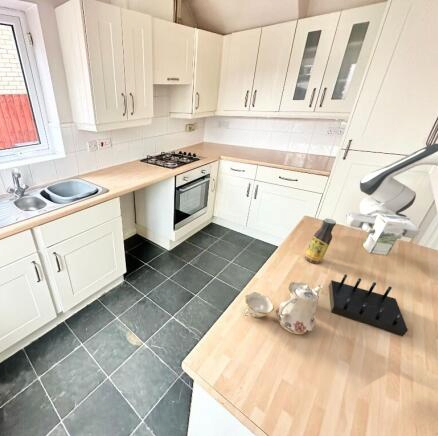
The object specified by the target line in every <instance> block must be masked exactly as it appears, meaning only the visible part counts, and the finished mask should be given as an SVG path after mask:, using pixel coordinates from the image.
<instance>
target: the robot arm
mask: <svg viewBox="0 0 438 436" xmlns="http://www.w3.org/2000/svg"><path fill="white" fill-rule="evenodd" d="M424 165H428V166H429V165H430V166H438V143H433V144H430V145H427V146H425V147H422V148H420V149H418V150H416V151H414V152H412V153H410V154H408V155H405V156H404V157H402V158H400V159H398V160H396V161H394V162H391V163H390V164H388V165H385V166H384V167H382V168H379V169H377V170H374V171H372V172H370V173H368V174H367V175H364V176H363V178H362V179H361V180H360V182H359V189H360V192H361V193H363V194H366V195H367V196H366V197H364V198H363V199H361V201H360V203H359V207H358V210H359V212H354V211H353V212H350V213H346V214H345V217H346V218H347V221H346V224H347V226H349V227H351V228H356V229H362V230H364V231H365V232H366V233H368V234H369V233H372V234H373V232H374V228H372V226H373V224H374V222H375V220H376V218H377V216H378V214H385V215H396V216H399V217H400V218H402V219H403V220H404V221H405V222H406V225H405V227H404V229H403V230H402V232H401V234H400V235H399V237H398V239H397V240H402V238H408V239H415V238H417V237H418V235H419V234H420V231H421V230H420V228H419V227H418V225H417V224H416V223H415V222H414V221H413V220H411V217H410V216H409V215H406V214H402V212H404V211H406V210H407V209H409V208H410V207H411V206H413V204H414V203H415V200H416V197H417V193H416V191H414V190H413V189H412V188H410V187H409V186H408V185H406V184H404V183H402V182H400V181H399V180H398V179H396V178H394V177H396V176H398V175H400V174H401V175H402V174H403V173H404V172H405V173H406V172H407V171H409V170H411V169H414V168H415V167H419V166H424Z"/></svg>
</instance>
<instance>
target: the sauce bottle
mask: <svg viewBox="0 0 438 436" xmlns="http://www.w3.org/2000/svg"><path fill="white" fill-rule="evenodd" d="M336 224H337V221H336V220H334V219H332V218H324V219H323V221H322V224H321V227H320V228H319V229H318V230H317V231H316V232H315V233H314V234H313V236H312V238H311V240H310V242H309V245H308V247H307V249H306V252H305V256H304V258H305V260H306V261H307V262H309V263H312V264H320V263H321V262H322V261H323V259H324V258H325V255H326V253H327V251H328V249H329V247H330V245H331V242H332V240H333V233H332V232H333V229H334V227H335V226H336Z"/></svg>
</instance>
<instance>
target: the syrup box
mask: <svg viewBox="0 0 438 436" xmlns="http://www.w3.org/2000/svg"><path fill="white" fill-rule="evenodd" d="M405 225H406V222H405V221H404V220H403V219H402V218H400V217H399V216H396V215H385V214H378V216H377V218H376V220H375V222H374V224H373V226H372V228H374V232H373V234H372V233H368V234H367V236H366V238H365V240H364V241H363V243H362V246H363V247H364V249H365V250H366V251H367V252H368V253H369V254H371V255H378V256H386V257H387V256H389V254H390V253H391V251H392V249H393V248H394V246H395V244H396V242H397V240H399V239H398V237H399V235H400V234H401V232H402V230H403V229H404V227H405Z"/></svg>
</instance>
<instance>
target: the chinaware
mask: <svg viewBox="0 0 438 436" xmlns="http://www.w3.org/2000/svg"><path fill="white" fill-rule="evenodd" d="M287 289H288V292H289V295H290V298H288V299H287V300H286V301H282V302H281V303H280V304H279V305H278V308H277V309H276V310H275V307H274V305H273V303H272V300H271V299H270V297H268V296H267V295H262V294H261V293H259V292H256V291H254V292H251V293H249V294H246V295H245V296H244V300H245V301H244V302H245V304H246V309H245V311H244V314H243V315H244V316H245V317H248V316H250V317H253V318H259V319H261V318H263V317H265V316H267V315H268V314H269V313H272V311H274V310H275V311H274V312H275V315H276V316H277V321H278V324H279V325H280V327H281V328H282V329H284V330H285V331H286V332H288V333H290V334H293V335H295V336H296V335H297V336H303V335H305V334H308V333H311V332H312V331H313V328H314V326H315V325H316V319H315V317H314V313H315V312H316V311H317V308H318V305H319V304H318V303H319V298H320V297H319V294H320V291H321V290H322V289H323V286H322V285H317V286H316V287H315V288H311V286H309V285H308V284H307V283H305V282H298V283H297V281H296V282H295V281H291V282H290V283H289V285H288V288H287ZM248 311H249V313H247V312H248Z"/></svg>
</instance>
